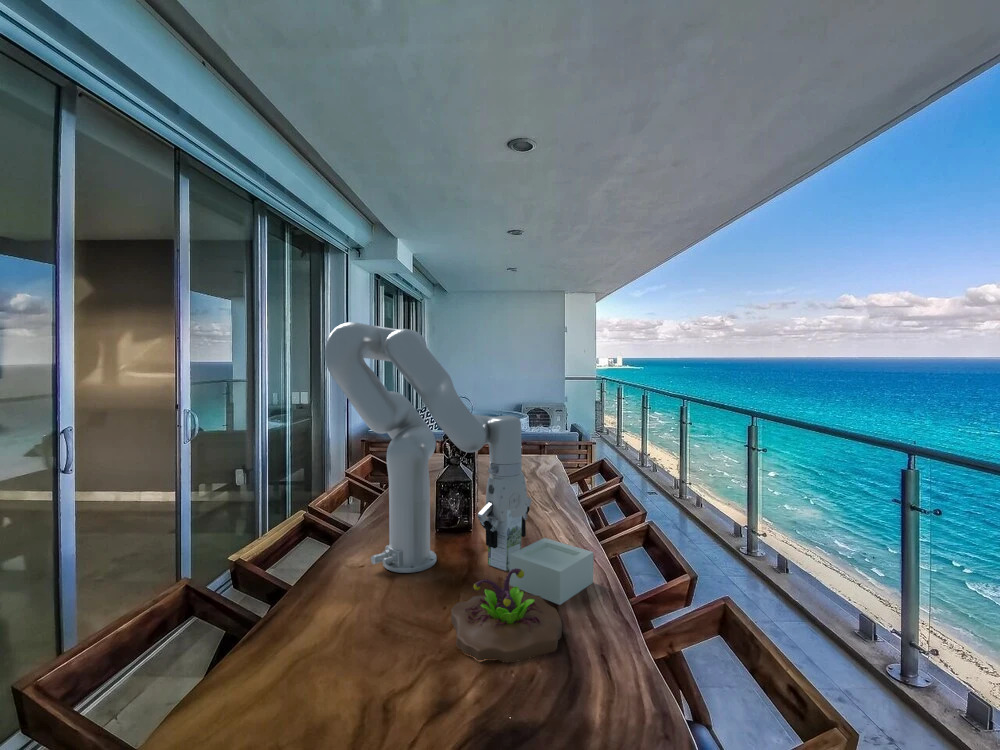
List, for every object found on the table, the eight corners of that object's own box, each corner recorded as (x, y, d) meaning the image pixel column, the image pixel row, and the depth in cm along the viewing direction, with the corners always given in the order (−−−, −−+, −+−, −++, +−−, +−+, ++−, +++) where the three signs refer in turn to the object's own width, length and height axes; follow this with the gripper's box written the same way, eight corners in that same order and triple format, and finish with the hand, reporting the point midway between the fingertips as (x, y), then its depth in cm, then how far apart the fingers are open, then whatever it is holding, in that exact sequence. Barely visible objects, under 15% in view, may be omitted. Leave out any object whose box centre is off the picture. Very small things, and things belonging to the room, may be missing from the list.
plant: (577, 657, 83) (578, 590, 83) (460, 671, 79) (460, 602, 79) (543, 598, 103) (544, 545, 102) (448, 608, 99) (448, 552, 98)
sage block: (559, 606, 100) (560, 571, 99) (509, 586, 108) (509, 554, 108) (593, 583, 109) (593, 552, 109) (544, 567, 118) (544, 537, 118)
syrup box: (502, 557, 122) (502, 499, 122) (522, 564, 119) (522, 503, 118) (487, 565, 118) (487, 504, 117) (507, 572, 114) (507, 509, 114)
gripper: (490, 478, 109) (491, 556, 109) (541, 465, 121) (541, 535, 122) (467, 473, 114) (468, 547, 115) (518, 460, 126) (518, 527, 127)
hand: (506, 540), depth 118 cm, fingers open, 9 cm apart
